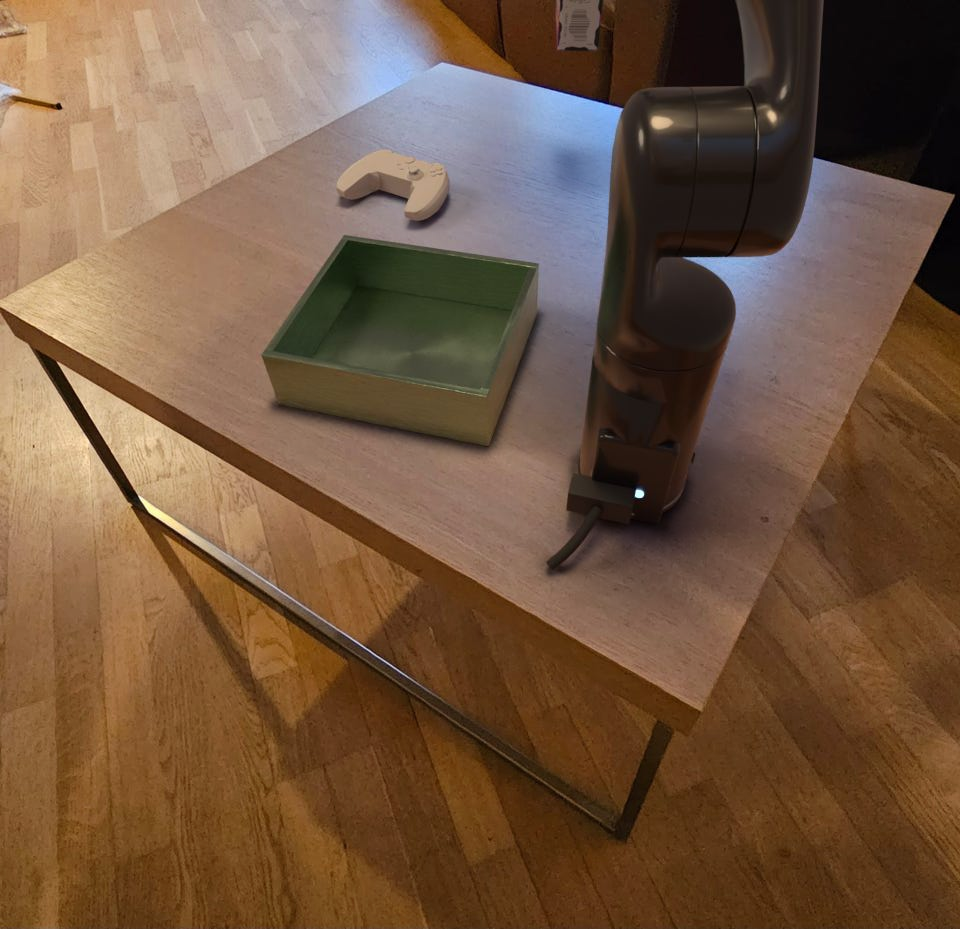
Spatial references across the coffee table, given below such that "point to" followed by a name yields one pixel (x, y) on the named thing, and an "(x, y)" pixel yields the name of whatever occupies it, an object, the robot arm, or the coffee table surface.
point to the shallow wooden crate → (407, 338)
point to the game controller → (398, 181)
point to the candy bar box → (578, 24)
